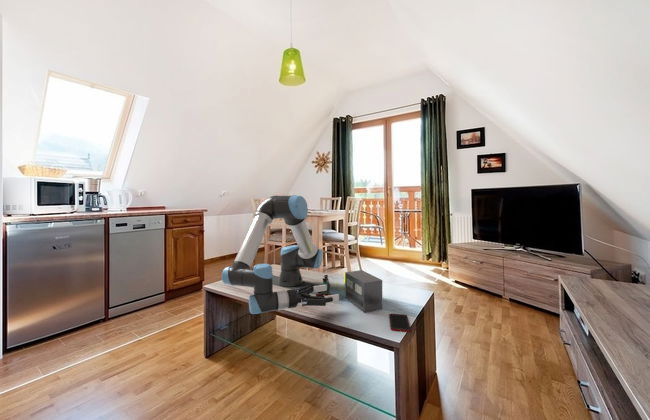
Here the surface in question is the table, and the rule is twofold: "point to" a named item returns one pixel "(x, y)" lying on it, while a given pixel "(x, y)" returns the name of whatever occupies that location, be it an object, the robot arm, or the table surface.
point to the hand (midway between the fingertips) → (332, 292)
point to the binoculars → (326, 282)
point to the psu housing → (363, 290)
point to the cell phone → (399, 322)
